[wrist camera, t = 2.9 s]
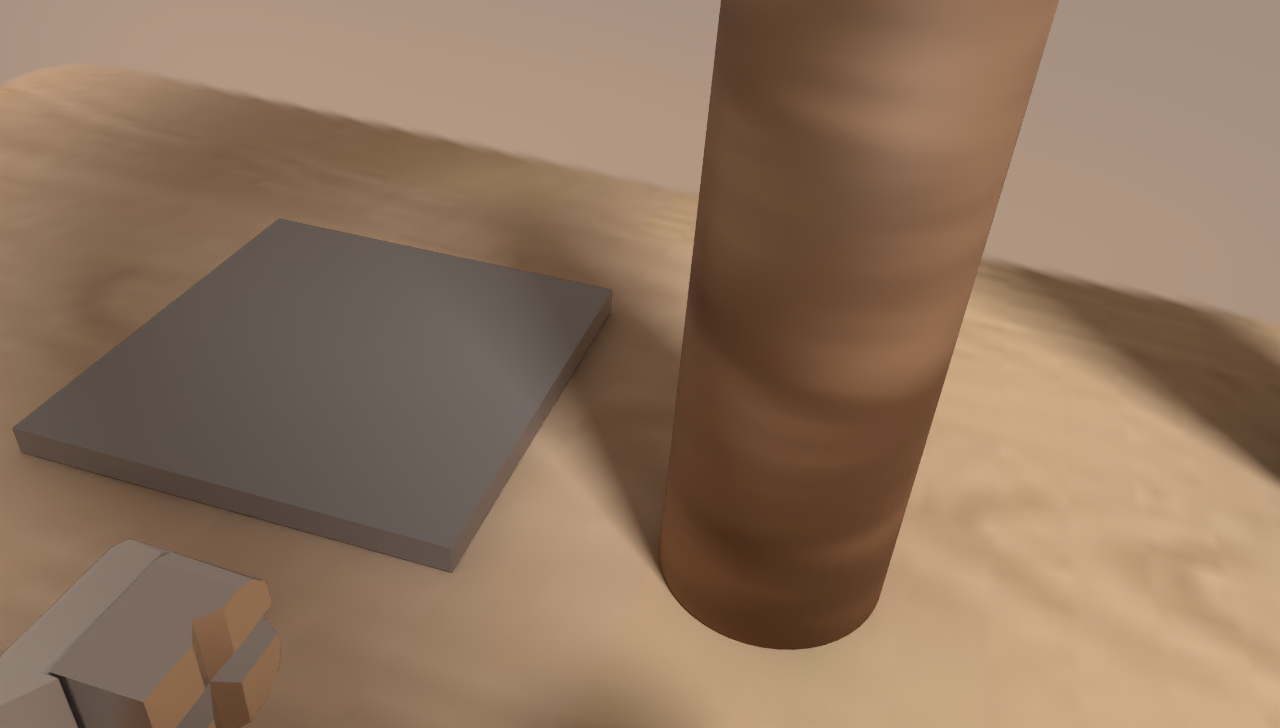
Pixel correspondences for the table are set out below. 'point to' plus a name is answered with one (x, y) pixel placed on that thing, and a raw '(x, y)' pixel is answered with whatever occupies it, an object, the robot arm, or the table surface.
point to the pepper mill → (830, 293)
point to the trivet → (333, 389)
